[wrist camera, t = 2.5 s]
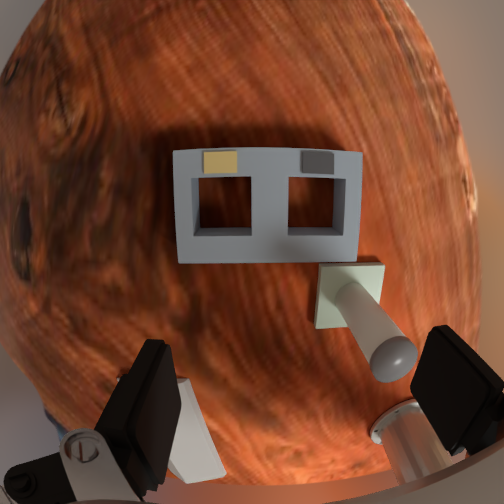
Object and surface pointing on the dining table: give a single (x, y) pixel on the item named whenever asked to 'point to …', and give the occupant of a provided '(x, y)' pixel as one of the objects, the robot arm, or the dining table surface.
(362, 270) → the square base plate
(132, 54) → the dining table surface
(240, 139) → the dining table surface
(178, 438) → the crown molding
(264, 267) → the dining table surface
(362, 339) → the plug
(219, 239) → the socket block
